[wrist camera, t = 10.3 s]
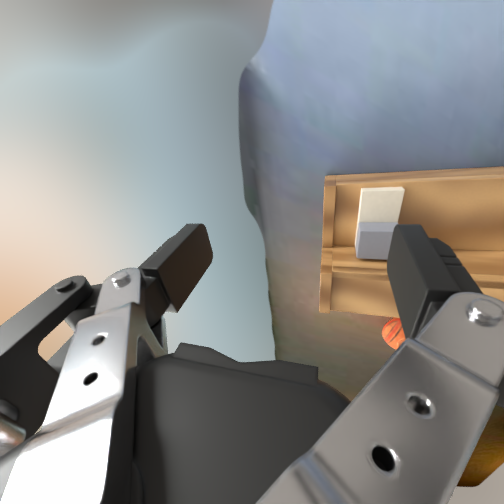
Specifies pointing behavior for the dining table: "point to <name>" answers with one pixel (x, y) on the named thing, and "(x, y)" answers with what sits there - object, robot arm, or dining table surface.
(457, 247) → the stepped wooden ledge
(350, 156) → the dining table surface
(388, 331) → the pot
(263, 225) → the dining table surface
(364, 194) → the block chair shape
